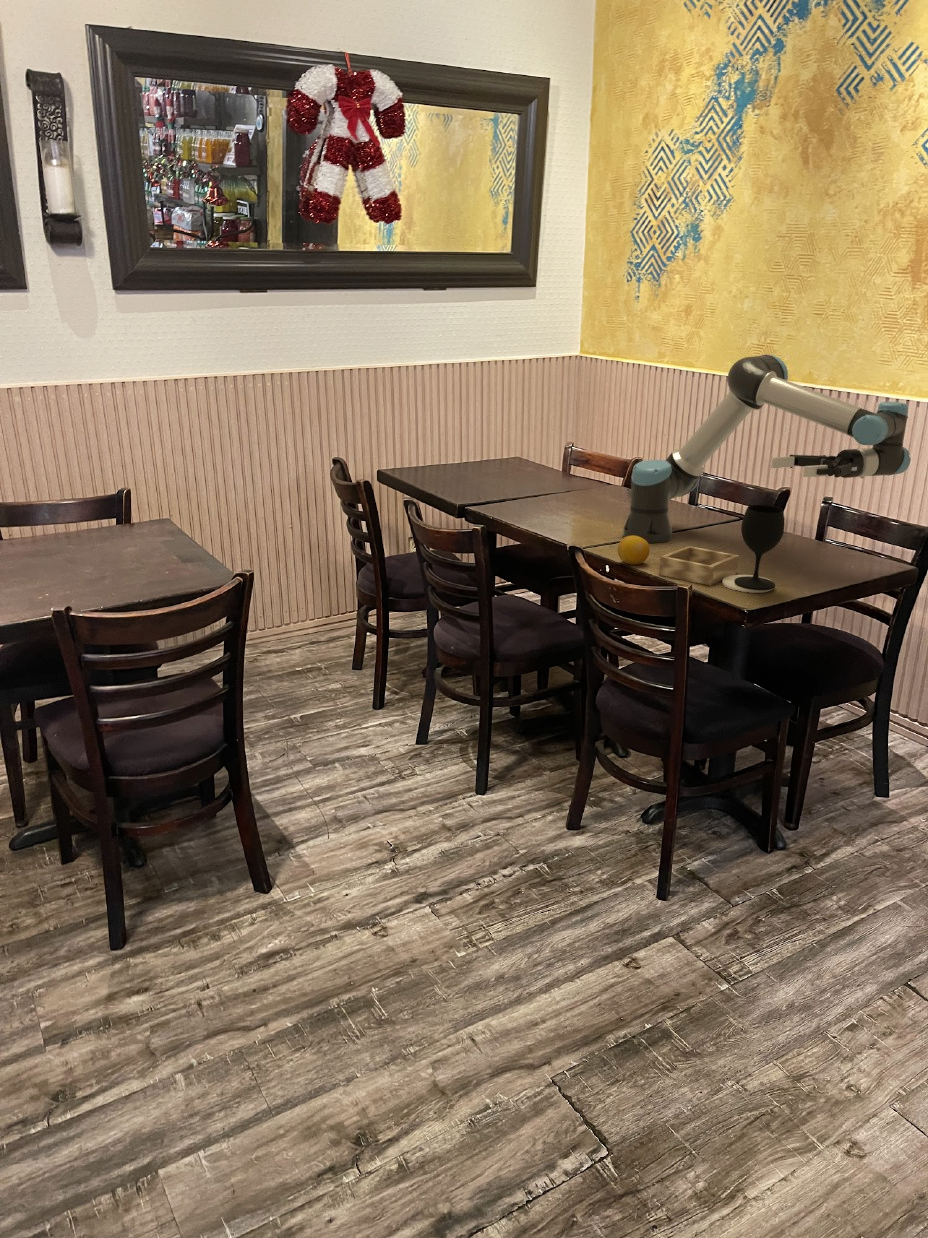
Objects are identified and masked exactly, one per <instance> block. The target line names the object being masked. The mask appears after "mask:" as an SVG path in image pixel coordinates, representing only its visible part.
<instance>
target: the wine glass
mask: <svg viewBox="0 0 928 1238" xmlns="http://www.w3.org/2000/svg"><path fill="white" fill-rule="evenodd" d="M741 521H742V522H741V528H740V530H741V537H742V540H743V542H744V544H745V545H746V546H747V547H748V548H749V549H750V550H751V552H753V553H754V555H755V566H754V572H753V574H752V575H753V577H752V576H744V577H738V578H736V579H735V581H734V582H735V584H736V585H738V586H740V587H743V588H746V589H751V590H770V589H775V588H776V583H775V582H774V581H773V580H771V579H769V578H767V579H765V578H766V577H764V578H760V577H761V576H759V569H760V562H761V559H762V556H763V555H765V554H766V553H768V552H770V551H771V550H772V549H774V548H775V547H777V546H778V544H779V543H780V542H781V540H782V538H783V535H784V532H785V514H784V510H783V509H782V508H781V507H777V506H774V505H773V506H772V505H767V504H751V505H749V506H747V508H746V510H745V512H744V515H743V517H742V520H741ZM768 579H769V580H768ZM770 580H771V581H770ZM772 581H773V582H772Z"/></svg>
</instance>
